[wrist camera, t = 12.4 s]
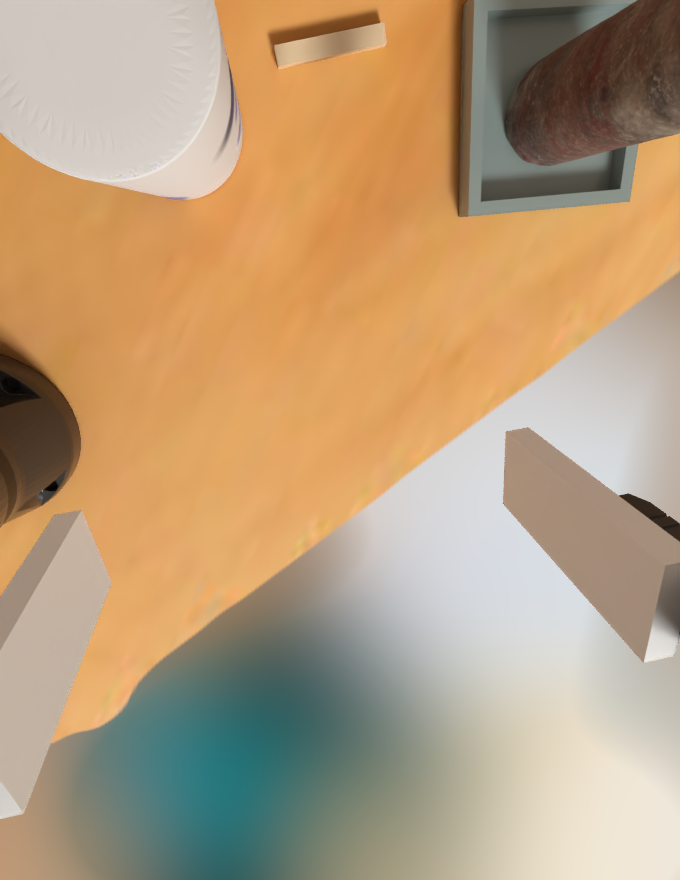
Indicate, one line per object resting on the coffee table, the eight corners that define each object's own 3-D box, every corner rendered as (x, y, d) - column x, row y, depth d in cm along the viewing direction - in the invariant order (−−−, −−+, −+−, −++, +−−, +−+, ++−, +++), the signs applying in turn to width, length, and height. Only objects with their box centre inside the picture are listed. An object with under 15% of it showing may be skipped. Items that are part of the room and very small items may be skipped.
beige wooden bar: (278, 70, 36) (278, 65, 35) (273, 50, 35) (274, 45, 34) (382, 48, 36) (386, 43, 35) (380, 28, 35) (383, 22, 34)
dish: (458, 216, 41) (468, 216, 39) (462, 5, 35) (474, -8, 33) (612, 202, 42) (629, 201, 40) (641, -4, 37) (663, -17, 35)
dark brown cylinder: (539, 31, 36) (812, -158, 18) (611, 85, 38) (921, -36, 20) (485, 139, 38) (679, 67, 20) (556, 184, 41) (788, 155, 23)
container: (269, 148, 37) (272, 81, 19) (168, 226, 38) (81, 232, 20) (181, 5, 33) (79, -252, 15) (70, 98, 34) (-147, -37, 16)
